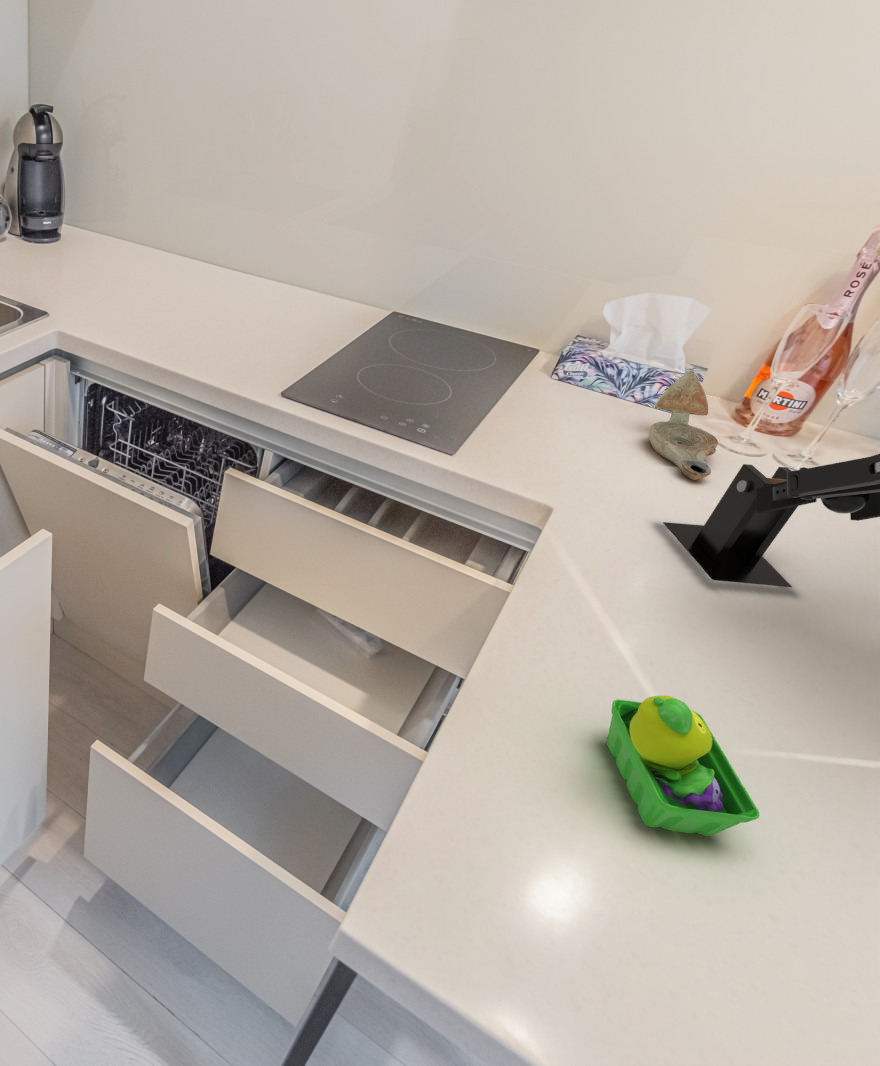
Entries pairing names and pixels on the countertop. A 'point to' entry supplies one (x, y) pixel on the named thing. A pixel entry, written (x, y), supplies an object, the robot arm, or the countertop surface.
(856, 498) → the switch lever
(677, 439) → the oil lamp
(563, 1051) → the countertop surface
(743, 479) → the switch bracket
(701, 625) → the countertop surface
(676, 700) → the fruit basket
